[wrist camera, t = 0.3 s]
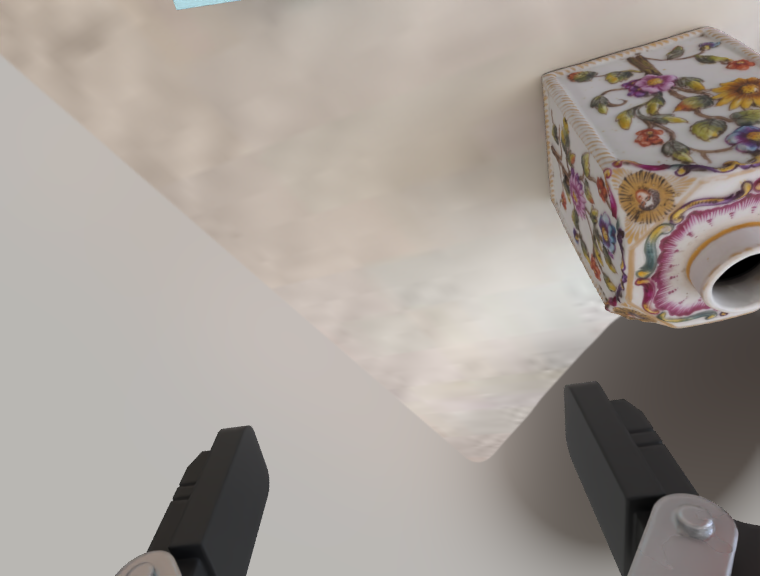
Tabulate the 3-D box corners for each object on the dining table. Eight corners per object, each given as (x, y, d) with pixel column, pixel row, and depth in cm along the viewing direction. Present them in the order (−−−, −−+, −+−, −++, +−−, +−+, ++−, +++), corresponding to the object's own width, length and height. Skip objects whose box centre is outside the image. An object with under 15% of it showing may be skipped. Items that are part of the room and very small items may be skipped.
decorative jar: (694, 167, 43) (844, 332, 30) (549, 203, 45) (630, 373, 32) (715, 15, 35) (934, 149, 22) (538, 67, 37) (640, 219, 24)
